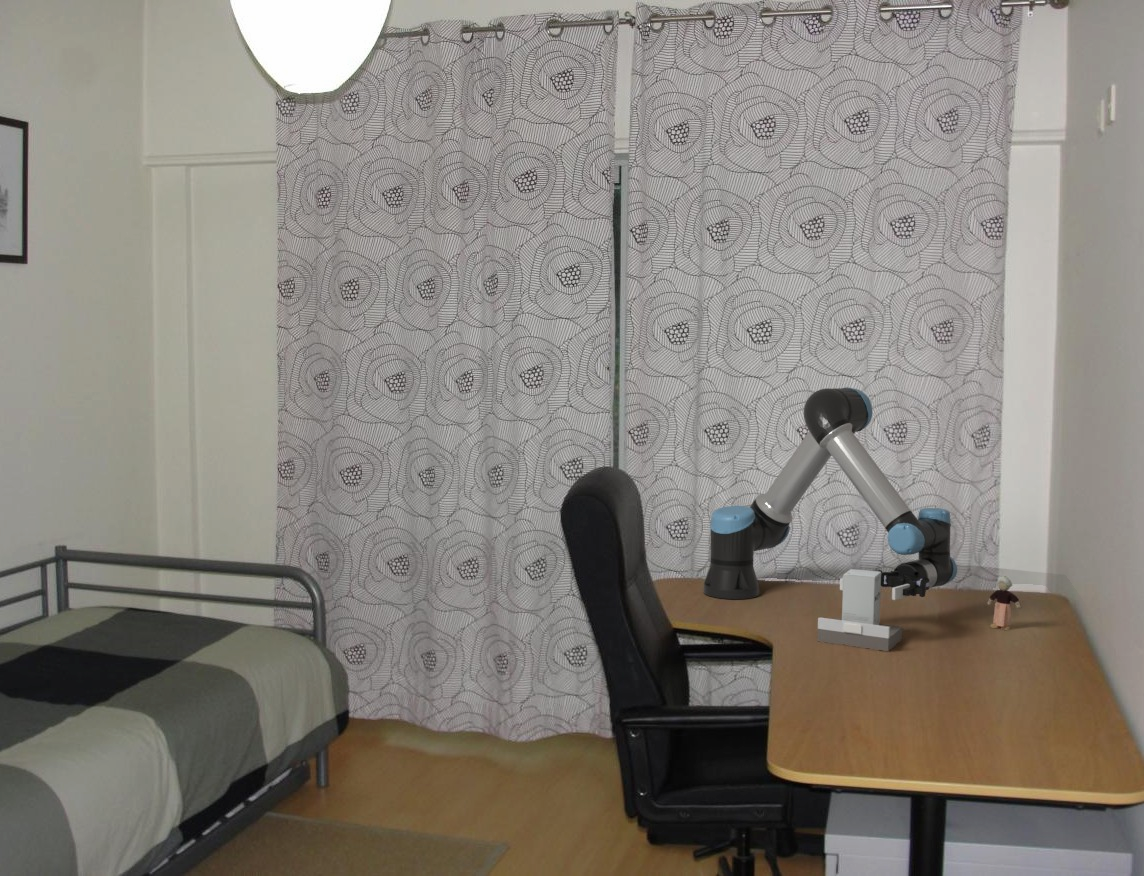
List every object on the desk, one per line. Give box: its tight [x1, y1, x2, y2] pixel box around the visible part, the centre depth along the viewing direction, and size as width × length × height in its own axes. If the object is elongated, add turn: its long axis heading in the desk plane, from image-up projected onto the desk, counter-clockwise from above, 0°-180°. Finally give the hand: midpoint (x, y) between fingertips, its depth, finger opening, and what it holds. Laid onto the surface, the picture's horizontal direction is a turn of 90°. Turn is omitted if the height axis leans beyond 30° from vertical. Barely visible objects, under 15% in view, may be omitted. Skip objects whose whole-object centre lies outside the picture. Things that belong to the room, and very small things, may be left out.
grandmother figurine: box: [987, 575, 1022, 631], centre depth 261 cm, size 8×4×13 cm, turn 62°
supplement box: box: [841, 568, 882, 625], centre depth 249 cm, size 7×7×13 cm
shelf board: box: [817, 617, 903, 652], centre depth 248 cm, size 16×12×5 cm
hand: (866, 589), depth 250 cm, fingers open, 13 cm apart
